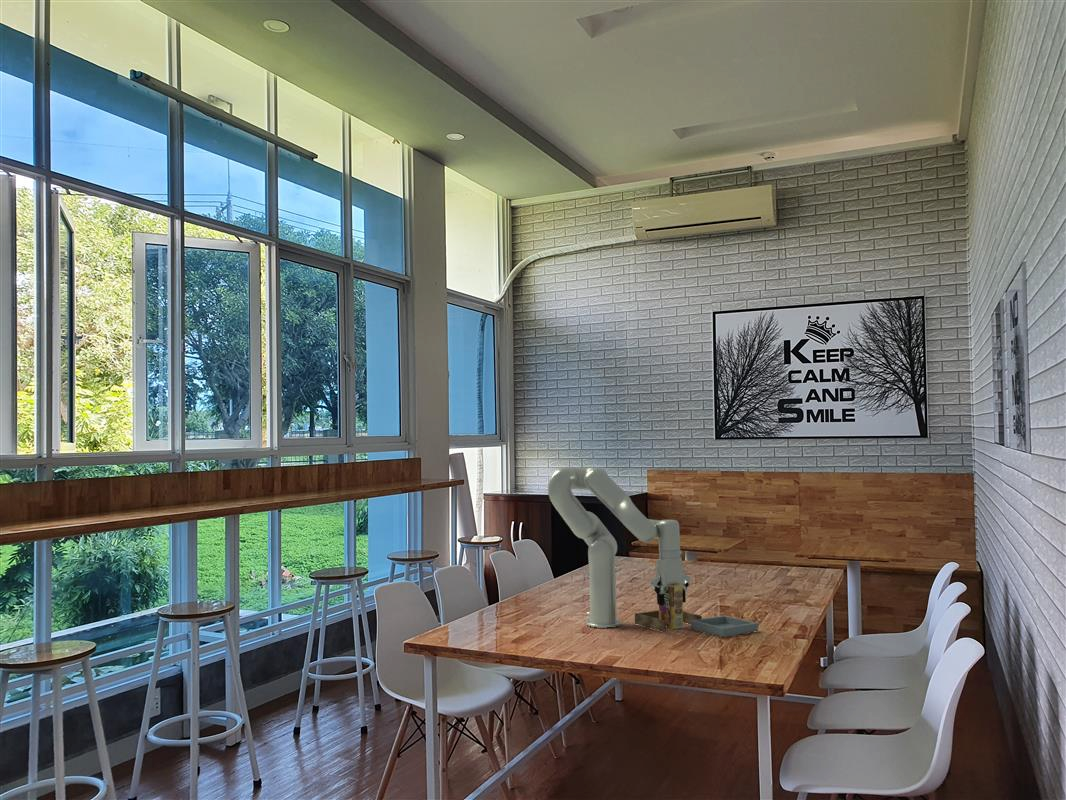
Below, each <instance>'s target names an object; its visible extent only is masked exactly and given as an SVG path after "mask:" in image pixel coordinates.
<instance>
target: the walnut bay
mask: <svg viewBox="0 0 1066 800" xmlns="http://www.w3.org/2000/svg"><path fill="white" fill-rule="evenodd" d="M702 617H703V615H700V614H697V613H691V612H689V611H683V622H684V623H688V624H691V620H698V619H703V618H702ZM684 623H683V624H684ZM635 624H639V625H642V626H645V627H648V628H652V629H655V630H659V631H662V632H667V628H668V627H666V621H665V620H661V619H659V609H657V610H650V611H643V612H636V613H635V612H634V625H635ZM688 624H687V625H688ZM645 627H644V628H645ZM648 628H647V629H648ZM652 629H651V630H652ZM655 630H654V631H655ZM659 631H658V632H659ZM662 632H661V633H662Z"/></svg>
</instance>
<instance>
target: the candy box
mask: <svg viewBox="0 0 1066 800" xmlns="http://www.w3.org/2000/svg"><path fill="white" fill-rule="evenodd" d="M662 594H664V606H662V605H658V610H659V619H661V620H665V621H666V626H667V628H668V627H670V628H669V629H672V628H673V629H672V630H678V629H677V628H681V629H684V623H683V610H684V609H683V608H684V605H683V603H684V602H683V592H682V585H681V584H673V585H670V588H665V590H664V592H663V593H662Z"/></svg>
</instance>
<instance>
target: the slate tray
mask: <svg viewBox="0 0 1066 800" xmlns="http://www.w3.org/2000/svg"><path fill="white" fill-rule="evenodd" d="M692 629H695V630H694V631H696V630H698V631H697V632H699V631H702V632H701V633H703V632H706V633H705V634H707V633H709V634H708V635H711V634H713V635H712V636H714V635H717V636H716V637H718V636H721V637H720V638H722V637H725V638H727V637H726V636H731V637H733V636H732V635H737V636H739V635H738V634H743V633H748V632H754V631H758V632H759V623H758V622H755V621H751V620H748V619H747V620H746V619H741V618H737V617H733V616H728V615H719V616H713V617H711V616H710V617H705V618H702V619H698V620H691V625H690V630H692ZM743 635H744V634H743Z"/></svg>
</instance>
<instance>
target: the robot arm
mask: <svg viewBox="0 0 1066 800" xmlns="http://www.w3.org/2000/svg"><path fill="white" fill-rule="evenodd" d="M572 490H579V491H590V492H591V493H592V494H593V496H595V497H596V498H597V499H598V500H599V501H600V502H601V503H602V504H603V505H605V507H606V508H607V509H609V510H610V512H611V513H612V514H613V515H614V516H615V518H617V519H618V520H619V522H621V523H622V524H623V526H625V528H626V529H627V530H628V531H629V532H630V533H631V534H632V535H634V536H635V537H636V538H637V539H638V540H639V541H640V542H643V543H651V542H652V541H654V540H658V557H659V558H657V560H656V564H655V567H656V568H655V578H654V579H653V580H651V581H650V585H651V587H652V590H653V591H654V593H655V594H656V601H657V603H656V604H657V605H658V606H659V605H662V606H664V594H662V593H663V592H664V590H665V588H670V585H673V584H681V585H682V592H683V603H686V599H687V598H686V591H687V590H688V587H689V586H690V584H689V583H690V582H691V576H688V575H687V574H685V569H684V568H685V567H684V563H683V559H682V557H681V555H682V554H683V551H682V550H681V542H680V541H681V540H680V539H681V536H680V534H681V533H680V523H679V520H676V519H661V520H658V519H650V518H649V519H648V518H647V517H646V516H645V514H643V513H642V512H641V511H640V510H639V509H638V507H636V505H635V504H634V503H633V501H632V499H631V497H630V495H629V494H627V493H626V491H624V489H622V488H621V486H619V485H618V484H617V483H616V482H615V481H614V479H612V478H611V477H610V476H609V474H608V472H607V470H605V468H602V467H578V466H577V467H574V466H565V467H563V466H562V467H560V468H559V467H558V468H557V469H556V470H555V471H554V472H553V473H552V475H550V478H549V481H548V485H547V493H548V497H549V500H550V502H551V503H552V505H553V507H554V508H555V510H556V511H557V512H558V514H559V515H560V516H561V519H563V521H564V522H565V524H566V525H567V526H568V527H569V529H570V530H571V531H572V533H573V534H574V536H576V537H577V538H578V539H582V540H583V541H584V542H585V543H586V545H587V546H588V549H587V556H588V557H587V558H588V570H589V571H588V572H589V573H588V574H589V575H588V576H589V577H588V578H589V611H587V612H586V615H587V616H588V617H589V619H587V620H586V621H585V625H586V626H587V625H588V626H587V627H590V626H591V628H594V627H597V628H596V629H608V628H607V627H613V628H617V627H616V626H618V627H620V626H621V625H622V621H621V620H619V619H618V618H617V614H618V613H617V611H618V610H617V576H616V554H617V552H618V544H617V540H616V539H615V537H614V536H613V535H612V534H611V532H610V531H609V530H608V528H607V527H606V526H605V525H604V523H603V522H602V520H600V518H599V517H598V516H597V515H596V514H594V512H591V511H587V510H586V509H585V507H584V506H583V505H582V503H581V502H580V501H579V499H578V498H577V497H576V496H575V495H574V493H573V492H572ZM619 625H620V626H619Z"/></svg>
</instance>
